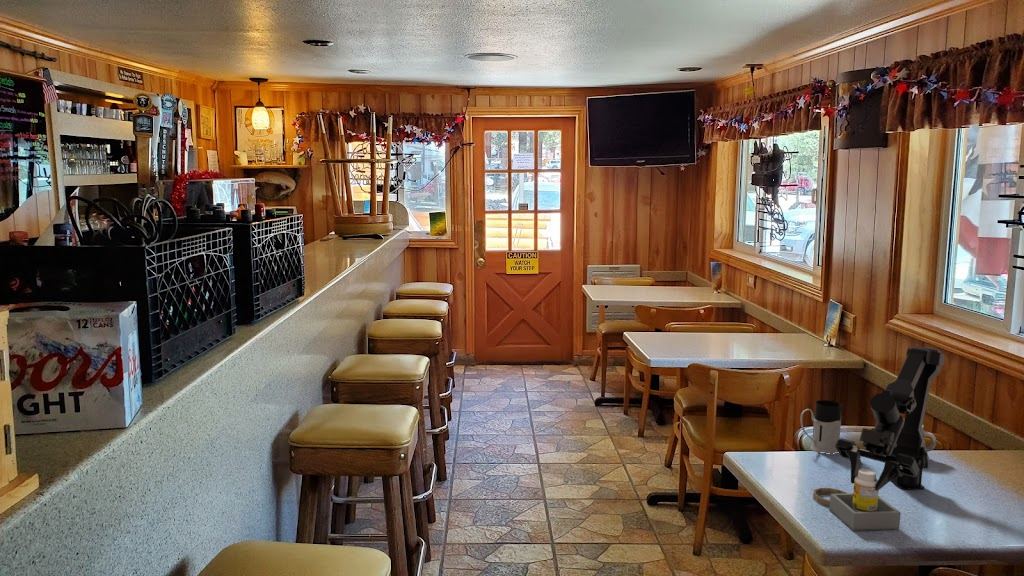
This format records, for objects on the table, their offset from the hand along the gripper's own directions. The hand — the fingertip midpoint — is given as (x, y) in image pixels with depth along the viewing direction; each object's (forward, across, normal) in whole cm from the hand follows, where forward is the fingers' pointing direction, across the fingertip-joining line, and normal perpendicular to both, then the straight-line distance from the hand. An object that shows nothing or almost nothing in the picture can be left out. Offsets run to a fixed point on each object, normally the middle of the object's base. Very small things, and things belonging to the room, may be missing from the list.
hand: (863, 486), depth 186 cm
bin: (+6, 0, +7) cm, 9 cm away
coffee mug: (-34, -10, +48) cm, 59 cm away
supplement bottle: (+4, 0, +6) cm, 7 cm away
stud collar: (+2, -11, +11) cm, 16 cm away
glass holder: (-22, -31, +36) cm, 52 cm away
